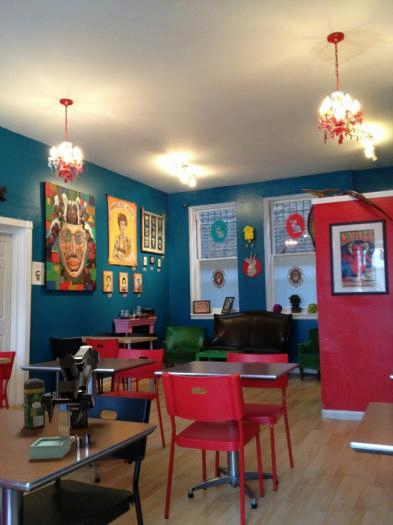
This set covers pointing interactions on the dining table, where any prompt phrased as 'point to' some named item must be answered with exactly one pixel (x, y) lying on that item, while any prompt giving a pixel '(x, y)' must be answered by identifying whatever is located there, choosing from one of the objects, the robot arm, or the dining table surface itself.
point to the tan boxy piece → (65, 425)
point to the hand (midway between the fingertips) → (63, 422)
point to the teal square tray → (50, 447)
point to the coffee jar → (33, 403)
